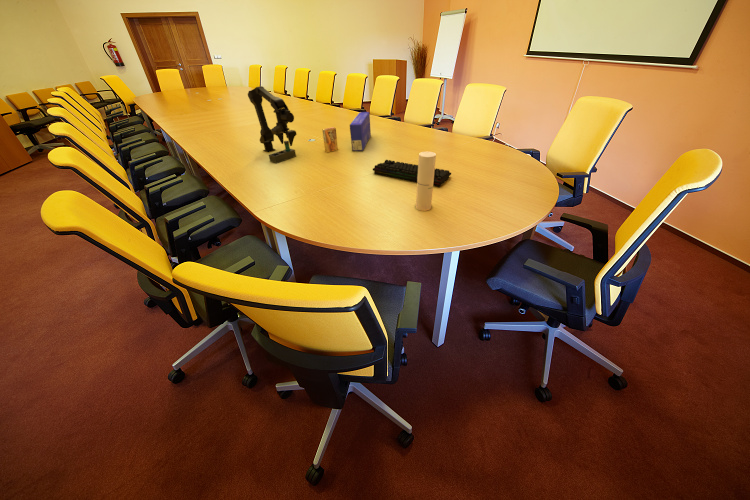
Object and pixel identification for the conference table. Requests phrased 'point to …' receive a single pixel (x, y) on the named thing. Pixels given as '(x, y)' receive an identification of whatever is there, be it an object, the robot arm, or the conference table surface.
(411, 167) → the keyboard
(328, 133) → the candy box
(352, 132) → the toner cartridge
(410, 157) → the conference table surface
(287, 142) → the capped tube
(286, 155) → the organiser
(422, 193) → the cylindrical container
